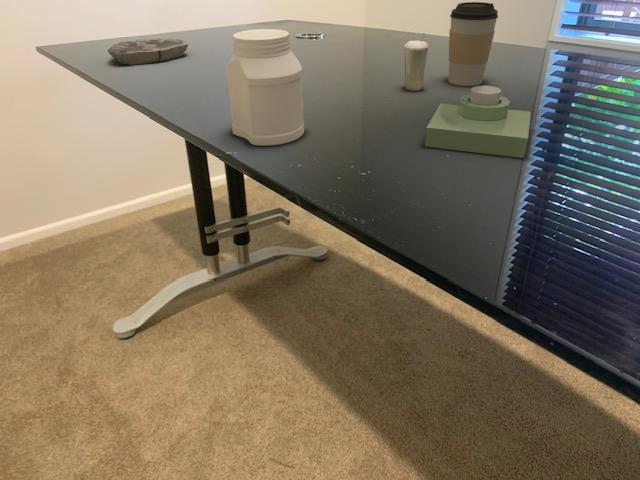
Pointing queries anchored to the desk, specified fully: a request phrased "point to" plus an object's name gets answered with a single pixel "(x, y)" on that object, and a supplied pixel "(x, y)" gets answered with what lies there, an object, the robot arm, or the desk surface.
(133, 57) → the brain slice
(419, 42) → the milkshake
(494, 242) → the desk surface
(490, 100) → the flush button
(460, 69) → the coffee cup
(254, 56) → the jar
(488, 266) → the desk surface
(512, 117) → the panel
